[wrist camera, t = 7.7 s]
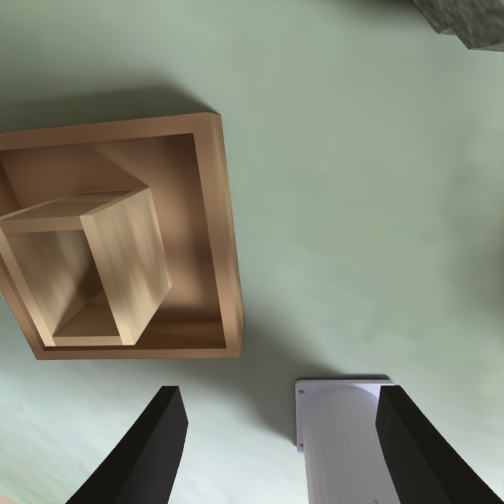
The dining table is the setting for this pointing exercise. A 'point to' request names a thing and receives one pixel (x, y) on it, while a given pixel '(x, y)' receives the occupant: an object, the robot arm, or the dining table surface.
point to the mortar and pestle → (467, 21)
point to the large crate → (168, 215)
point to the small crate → (88, 265)
